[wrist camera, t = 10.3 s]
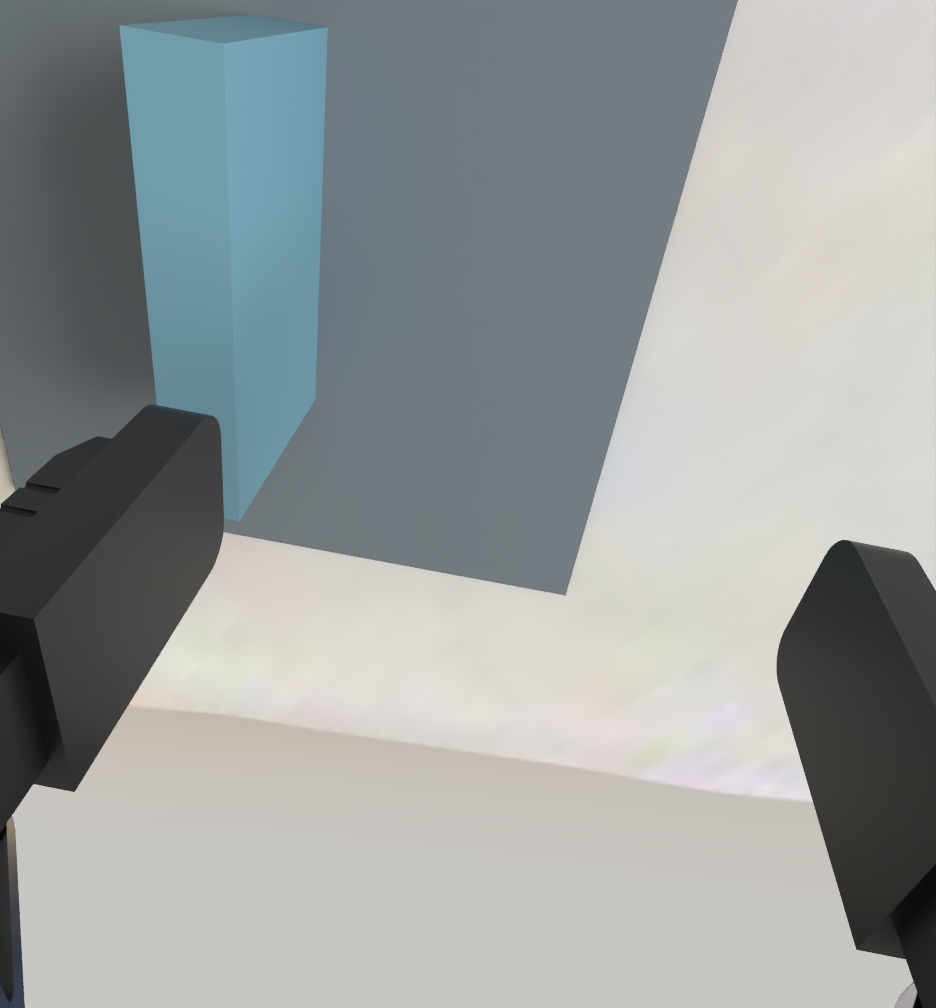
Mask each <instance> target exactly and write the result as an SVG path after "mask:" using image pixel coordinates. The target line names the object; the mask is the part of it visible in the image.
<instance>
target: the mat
mask: <svg viewBox="0 0 936 1008" xmlns="http://www.w3.org/2000/svg"><path fill="white" fill-rule="evenodd" d="M737 1H738V0H0V426H1V430H2V434H3V439H4V443H5V447H6V452H7V456H8V460H9V465H10V469H11V473H12V478H13V482H14V486H15V491H16V490H17V489H18V488H19V487H21V488H25V485H26V481H27V480H28V479H29V478H30V477H32V476H33V475H34V474H35V473H36V472H37V471H38V470H39V469H40V468H41V467H43V466H44V465H45V464H46V463H47V462H48V461H49V460H50V459H51V458H53V457H54V456H55V455H57V454H59V453H61V452H63V451H65V450H68V449H70V448H72V447H74V446H77V445H79V444H81V443H83V442H85V441H88V440H90V439H92V438H94V437H96V436H100V437H105V438H110V439H112V438H113V437H114V436H115V435H116V434H117V433H118V432H119V431H120V430H121V429H122V428H123V427H124V426H125V425H126V424H127V423H128V422H129V421H130V420H131V419H132V418H133V417H134V416H136V415H137V414H138V413H139V412H140V411H141V410H142V409H143V408H144V407H145V406H147V405H149V404H154V405H157V401H156V390H155V380H154V370H153V360H152V350H151V340H150V330H149V320H148V310H147V299H146V289H145V279H144V269H143V259H142V249H141V239H140V229H139V218H138V208H137V198H136V188H135V178H134V168H133V158H132V148H131V138H130V127H129V117H128V107H127V97H126V87H125V77H124V67H123V57H122V46H121V36H120V26H119V25H130V24H142V23H155V22H167V21H179V20H192V19H204V18H216V17H229V16H241V15H253V14H255V15H261V16H267V17H272V18H278V19H284V20H290V21H295V22H301V23H307V24H312V25H318V26H324V27H328V33H327V63H326V93H325V123H324V154H323V184H322V214H321V244H320V274H319V304H318V334H317V364H316V395H315V401H314V402H313V404H312V405H311V407H310V409H309V410H308V412H307V413H306V415H305V417H304V418H303V420H302V421H301V423H300V425H299V426H298V428H297V430H296V431H295V433H294V434H293V436H292V438H291V439H290V441H289V442H288V444H287V446H286V447H285V449H284V450H283V452H282V454H281V455H280V457H279V458H278V460H277V462H276V463H275V465H274V466H273V468H272V470H271V471H270V473H269V474H268V476H267V478H266V479H265V481H264V483H263V484H262V486H261V487H260V489H259V491H258V492H257V494H256V495H255V497H254V499H253V500H252V502H251V503H250V505H249V507H248V508H247V510H246V511H245V513H244V515H243V516H242V518H241V519H240V521H234V520H229V519H224V530H223V532H226V533H232V534H237V535H242V536H248V537H253V538H259V539H264V540H269V541H275V542H280V543H286V544H291V545H296V546H302V547H307V548H313V549H318V550H323V551H329V552H334V553H340V554H345V555H350V556H356V557H361V558H367V559H372V560H377V561H383V562H388V563H394V564H399V565H404V566H410V567H415V568H421V569H426V570H431V571H437V572H442V573H448V574H453V575H458V576H464V577H469V578H475V579H480V580H485V581H491V582H496V583H502V584H507V585H512V586H518V587H523V588H529V589H534V590H539V591H545V592H550V593H556V594H561V595H566V591H567V588H568V585H569V581H570V578H571V574H572V571H573V567H574V564H575V560H576V557H577V553H578V550H579V547H580V543H581V540H582V536H583V533H584V529H585V526H586V522H587V519H588V515H589V512H590V509H591V505H592V502H593V498H594V495H595V491H596V488H597V484H598V481H599V477H600V474H601V471H602V467H603V464H604V460H605V457H606V453H607V450H608V446H609V443H610V440H611V436H612V433H613V429H614V426H615V422H616V419H617V415H618V412H619V408H620V405H621V402H622V398H623V395H624V391H625V388H626V384H627V381H628V377H629V374H630V370H631V367H632V364H633V360H634V357H635V353H636V350H637V346H638V343H639V339H640V336H641V332H642V329H643V326H644V322H645V319H646V315H647V312H648V308H649V305H650V301H651V298H652V294H653V291H654V288H655V284H656V281H657V277H658V274H659V270H660V267H661V263H662V260H663V256H664V253H665V250H666V246H667V243H668V239H669V236H670V232H671V229H672V225H673V222H674V219H675V215H676V212H677V208H678V205H679V201H680V198H681V194H682V191H683V187H684V184H685V181H686V177H687V174H688V170H689V167H690V163H691V160H692V156H693V153H694V149H695V146H696V143H697V139H698V136H699V132H700V129H701V125H702V122H703V118H704V115H705V111H706V108H707V105H708V101H709V98H710V94H711V91H712V87H713V84H714V80H715V77H716V73H717V70H718V67H719V63H720V60H721V56H722V53H723V49H724V46H725V42H726V39H727V35H728V32H729V29H730V25H731V22H732V18H733V15H734V11H735V8H736V4H737Z"/></svg>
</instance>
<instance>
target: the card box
mask: <svg viewBox="0 0 936 1008" xmlns="http://www.w3.org/2000/svg"><path fill="white" fill-rule="evenodd" d="M119 26H120V36H121V46H122V57H123V67H124V77H125V87H126V97H127V107H128V117H129V127H130V138H131V148H132V158H133V168H134V178H135V188H136V198H137V208H138V218H139V229H140V239H141V249H142V259H143V269H144V279H145V289H146V299H147V310H148V320H149V330H150V340H151V350H152V360H153V370H154V380H155V390H156V401H157V405H159V406H165V407H170V408H175V409H180V410H185V411H190V412H196V413H201V414H206V415H211V416H214V417H215V418H216V419H217V421H218V423H219V426H220V431H221V447H222V475H223V504H224V519H229V520H234V521H240V519H241V518H242V516H243V515H244V513H245V511H246V510H247V508H248V507H249V505H250V503H251V502H252V500H253V499H254V497H255V495H256V494H257V492H258V491H259V489H260V487H261V486H262V484H263V483H264V481H265V479H266V478H267V476H268V474H269V473H270V471H271V470H272V468H273V466H274V465H275V463H276V462H277V460H278V458H279V457H280V455H281V454H282V452H283V450H284V449H285V447H286V446H287V444H288V442H289V441H290V439H291V438H292V436H293V434H294V433H295V431H296V430H297V428H298V426H299V425H300V423H301V421H302V420H303V418H304V417H305V415H306V413H307V412H308V410H309V409H310V407H311V405H312V404H313V402H314V401H315V395H316V364H317V334H318V304H319V274H320V244H321V214H322V184H323V154H324V123H325V93H326V63H327V33H328V27H324V26H318V25H312V24H307V23H301V22H295V21H290V20H284V19H278V18H272V17H267V16H261V15H255V14H253V15H241V16H229V17H216V18H204V19H192V20H179V21H167V22H155V23H142V24H130V25H119Z"/></svg>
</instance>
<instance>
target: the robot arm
mask: <svg viewBox="0 0 936 1008" xmlns="http://www.w3.org/2000/svg"><path fill="white" fill-rule="evenodd" d="M223 530H224V504H223V475H222V447H221V431H220V426H219V423H218V421H217V419H216V418H215V417H214V416H211V415H206V414H201V413H196V412H190V411H185V410H180V409H175V408H170V407H165V406H159V405H154V404H149V405H147V406H145V407H144V408H143V409H142V410H141V411H140V412H139V413H138V414H137V415H136V416H134V417H133V418H132V419H131V420H130V421H129V422H128V423H127V424H126V425H125V426H124V427H123V428H122V429H121V430H120V431H119V432H118V433H117V434H116V435H115V436H114V437H113V438H112V439H110V438H105V437H100V436H96V437H94V438H92V439H90V440H88V441H85V442H83V443H81V444H79V445H77V446H74V447H72V448H70V449H68V450H65V451H63V452H61V453H59V454H57V455H55V456H54V457H53V458H51V459H50V460H49V461H48V462H47V463H46V464H45V465H44V466H43V467H41V468H40V469H39V470H38V471H37V472H36V473H35V474H34V475H33V476H32V477H30V478H29V479H28V480H27V481H26V485H25V488H21V487H19V488H18V489H17V490H16V491H15V492H14V493H13V494H12V495H11V496H10V497H8V498H7V499H6V500H5V501H4V502H3V503H2V504H1V509H0V1008H25V1004H24V986H23V967H22V948H21V930H20V911H19V892H18V874H17V855H16V838H15V827H14V821H13V818H12V814H13V813H14V812H15V809H16V808H17V807H18V805H19V804H20V803H21V801H22V800H23V798H24V797H25V795H26V794H27V792H28V791H29V789H30V788H31V786H32V785H33V784H37V785H42V786H47V787H52V788H57V789H63V790H68V791H73V792H75V790H76V789H77V787H78V785H79V784H80V782H81V781H82V779H83V777H84V776H85V774H86V772H87V771H88V769H89V767H90V766H91V764H92V763H93V761H94V760H95V758H96V756H97V755H98V753H99V751H100V750H101V748H102V746H103V745H104V743H105V742H106V740H107V739H108V737H109V735H110V734H111V732H112V730H113V728H114V727H115V725H116V724H117V722H118V720H119V719H120V717H121V716H122V714H123V713H124V711H125V709H126V708H127V706H128V705H129V703H130V701H131V700H132V698H133V696H134V695H135V693H136V692H137V690H138V688H139V687H140V685H141V684H142V682H143V680H144V679H145V677H146V675H147V674H148V672H149V671H150V669H151V667H152V666H153V664H154V662H155V661H156V659H157V658H158V656H159V654H160V653H161V651H162V650H163V648H164V646H165V645H166V643H167V641H168V640H169V638H170V637H171V635H172V633H173V632H174V630H175V629H176V627H177V625H178V624H179V622H180V620H181V619H182V617H183V616H184V614H185V612H186V611H187V609H188V607H189V606H190V604H191V603H192V601H193V599H194V598H195V596H196V595H197V593H198V591H199V590H200V588H201V586H202V585H203V583H204V582H205V580H206V578H207V577H208V575H209V574H210V572H211V570H212V568H213V566H214V564H215V562H216V559H217V556H218V553H219V550H220V546H221V542H222V537H223ZM777 678H778V683H779V687H780V690H781V694H782V697H783V701H784V704H785V708H786V711H787V714H788V718H789V721H790V725H791V728H792V731H793V735H794V738H795V742H796V745H797V748H798V752H799V755H800V759H801V762H802V765H803V769H804V772H805V776H806V779H807V783H808V786H809V789H810V793H811V796H812V800H813V803H814V806H815V810H816V813H817V816H818V820H819V823H820V827H821V830H822V834H823V837H824V840H825V844H826V847H827V851H828V854H829V858H830V861H831V864H832V868H833V871H834V875H835V878H836V881H837V885H838V888H839V892H840V895H841V898H842V902H843V905H844V909H845V912H846V916H847V919H848V922H849V926H850V929H851V932H852V936H853V939H854V943H855V946H856V949H857V950H862V951H867V952H872V953H877V954H882V955H887V956H892V957H897V958H902V959H906V961H907V964H908V966H909V969H910V972H911V975H912V978H913V981H914V982H913V983H912V984H911V985H910V986H909V987H908V988H906V990H905V991H904V992H903V993H902V994H901V995H900V996H899V998H898V1001H897V1003H896V1005H895V1008H936V591H935V589H934V587H933V586H932V584H931V582H930V580H929V579H928V577H927V575H926V574H925V572H924V570H923V569H922V567H921V565H920V564H919V562H918V561H917V559H916V558H915V557H914V556H913V555H912V554H911V553H908V552H905V551H900V550H895V549H889V548H884V547H879V546H874V545H869V544H864V543H858V542H853V541H848V540H841V541H838V542H837V543H835V544H834V545H833V546H832V547H831V548H830V549H829V551H828V552H827V554H826V555H825V557H824V559H823V561H822V563H821V564H820V566H819V568H818V570H817V572H816V574H815V575H814V577H813V579H812V581H811V583H810V585H809V586H808V588H807V590H806V592H805V594H804V596H803V597H802V599H801V601H800V603H799V605H798V607H797V608H796V610H795V612H794V614H793V616H792V618H791V619H790V621H789V623H788V625H787V627H786V629H785V631H784V633H783V635H782V638H781V641H780V644H779V649H778V655H777Z"/></svg>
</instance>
